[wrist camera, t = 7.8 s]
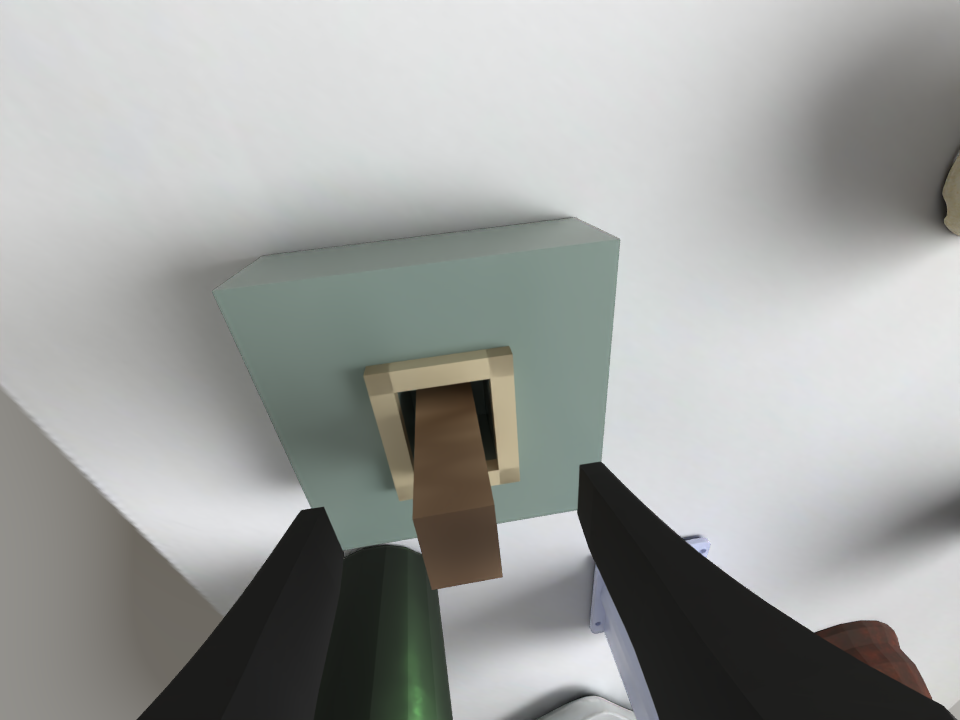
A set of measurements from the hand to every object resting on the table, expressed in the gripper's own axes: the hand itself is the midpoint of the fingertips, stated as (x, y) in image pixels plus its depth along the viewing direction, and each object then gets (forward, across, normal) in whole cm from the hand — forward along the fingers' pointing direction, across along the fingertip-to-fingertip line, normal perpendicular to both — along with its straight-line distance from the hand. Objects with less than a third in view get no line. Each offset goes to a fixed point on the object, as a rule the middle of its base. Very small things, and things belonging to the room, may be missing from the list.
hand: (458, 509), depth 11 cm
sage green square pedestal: (+8, 0, 0) cm, 8 cm away
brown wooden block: (+7, 0, 0) cm, 7 cm away
